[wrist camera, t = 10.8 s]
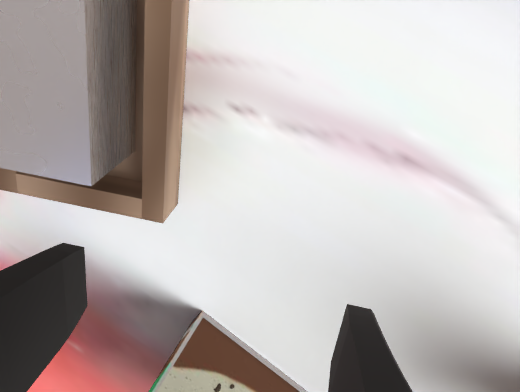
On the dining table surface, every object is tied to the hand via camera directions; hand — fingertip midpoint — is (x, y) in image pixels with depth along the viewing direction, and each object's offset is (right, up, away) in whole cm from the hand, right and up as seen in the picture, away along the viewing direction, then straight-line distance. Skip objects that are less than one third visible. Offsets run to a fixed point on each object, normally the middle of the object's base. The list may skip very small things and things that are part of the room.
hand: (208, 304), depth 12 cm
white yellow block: (-6, +9, +7) cm, 13 cm away
